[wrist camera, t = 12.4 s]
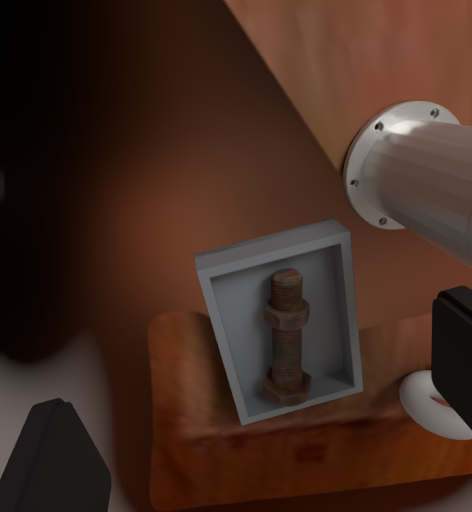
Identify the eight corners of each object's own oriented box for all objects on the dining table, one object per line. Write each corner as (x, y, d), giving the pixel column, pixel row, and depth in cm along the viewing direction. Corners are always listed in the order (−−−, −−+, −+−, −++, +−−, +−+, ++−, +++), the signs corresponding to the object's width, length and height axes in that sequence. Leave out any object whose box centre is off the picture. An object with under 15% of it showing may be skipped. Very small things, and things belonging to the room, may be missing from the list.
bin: (333, 217, 39) (350, 231, 36) (349, 368, 48) (363, 391, 45) (194, 253, 39) (196, 271, 35) (236, 400, 48) (241, 425, 44)
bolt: (283, 257, 41) (284, 368, 47) (248, 271, 38) (254, 387, 44) (326, 274, 37) (321, 393, 43) (290, 291, 34) (290, 416, 40)
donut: (455, 362, 51) (515, 421, 42) (448, 381, 52) (505, 443, 43) (387, 366, 49) (435, 428, 40) (381, 386, 51) (426, 451, 42)
